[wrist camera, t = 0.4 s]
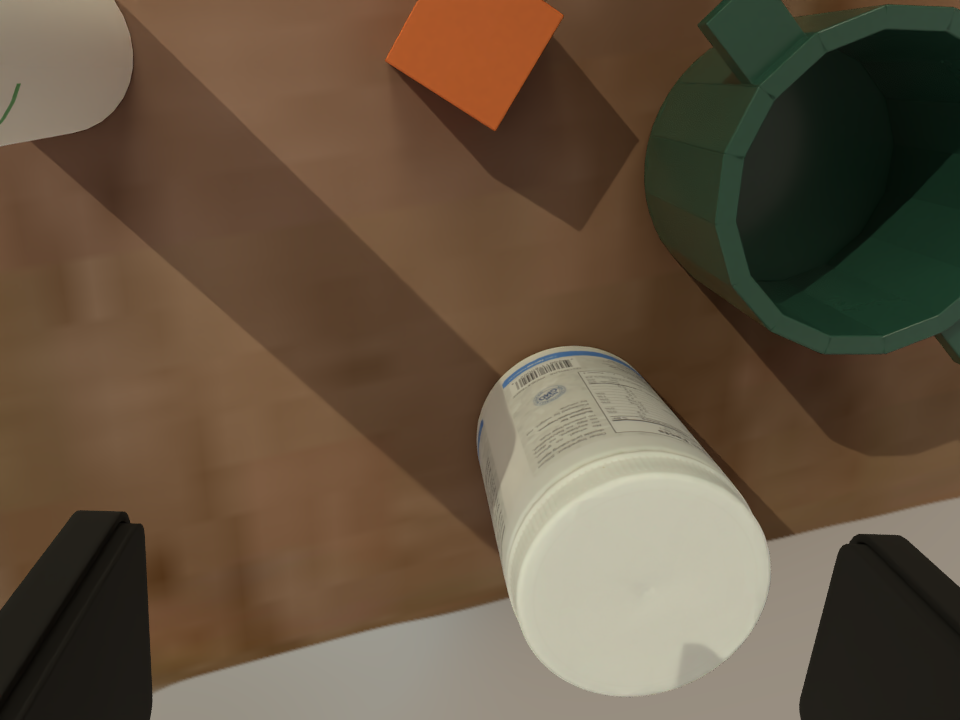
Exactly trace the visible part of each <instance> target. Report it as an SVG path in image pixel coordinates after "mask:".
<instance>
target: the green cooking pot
mask: <svg viewBox="0 0 960 720" xmlns="http://www.w3.org/2000/svg"><path fill="white" fill-rule="evenodd" d="M698 27H699V29H700V30H701V31H702V33H703V34H704V35H705V37H706V38H707V39H708V40H709V42H710V43H711V44H712V46H713V47H712V48H711V49H709V50H708V51H707V52H706V53H704V54H703V55H702V56H701V57H700V58H699V59H697V60H696V61H695V62H694V63H693V64H692V65H691V66H690V67H689V68H688V69H687V70H686V71H685V73H684V74H683V75H682V76H681V77H680V78H679V80H678V81H677V82H676V84H675V85H674V87H673V88H672V89H671V91H670V92H669V94H668V96H667V97H666V99H665V101H664V103H663V104H662V106H661V108H660V110H659V113H658V115H657V117H656V120H655V122H654V125H653V127H652V131H651V134H650V138H649V141H648V146H647V152H646V158H645V175H644V182H645V192H646V200H647V204H648V208H649V213H650V216H651V218H652V221H653V224H654V226H655V229H656V231H657V233H658V235H659V238H660V240H661V241H662V243H663V244H664V245H665V246H666V248H667V249H668V250H669V252H670V253H671V254H672V256H673V257H674V258H675V259H676V260H677V261H678V262H679V263H680V264H681V265H682V266H683V267H684V268H685V269H686V270H687V271H688V273H689V274H690V275H691V276H692V277H694V278H695V279H696V280H698V281H699V282H701V283H702V284H704V285H705V286H706V287H708V288H709V289H711V290H712V291H714V292H715V293H716V294H718V295H719V296H721V297H722V298H724V299H725V300H726V301H728V302H729V303H731V304H732V305H734V306H735V307H736V308H738V309H739V310H741V311H742V312H744V313H745V314H746V315H748V316H749V317H751V318H752V319H754V320H755V321H756V322H758V323H759V324H761V325H762V326H764V327H765V328H766V329H768V330H769V331H771V332H772V333H775V334H777V335H779V336H782V337H784V338H786V339H788V340H791V341H793V342H795V343H797V344H800V345H802V346H804V347H807V348H809V349H811V350H813V351H816V352H818V353H820V354H825V355H830V354H887V353H890V352H892V351H895V350H897V349H900V348H903V347H905V346H908V345H910V344H913V343H916V342H918V341H921V340H924V339H926V338H929V337H931V336H935V337H936V339H937V340H938V341H939V343H940V344H941V345H942V346H943V348H944V349H945V350H946V352H947V353H948V354H949V356H950V357H951V358H952V360H953V361H954V362H956V363H958V364H960V10H959V9H957V8H954V7H942V6H917V5H893V4H886V5H879V6H872V7H864V8H857V9H850V10H843V11H835V12H828V13H821V14H814V15H807V16H799V17H792V15H791V14H790V12H789V11H788V10H787V8H786V7H785V5H784V4H783V3H782V1H781V0H723V1H722V2H721V3H720V4H719V5H718V6H716V7H715V8H714V9H713V10H712V11H711V12H710V13H709V14H708V15H707V16H706V17H705V18H704V19H703V20H702V21H701V22H700V23H699V24H698Z"/></svg>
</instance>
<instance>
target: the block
mask: <svg viewBox="0 0 960 720" xmlns="http://www.w3.org/2000/svg"><path fill="white" fill-rule="evenodd" d="M563 17H564V15H563V14H562V13H560V12H559V11H557V10H556V9H554V8H553V7H551V6H550V5H549V4H547V3H546V2H544V1H543V0H418V1H417V2H416V4H415V6H414V8H413V10H412V12H411V13H410V15H409V17H408V19H407V21H406V23H405V24H404V26H403V28H402V30H401V32H400V34H399V35H398V37H397V39H396V41H395V43H394V45H393V46H392V48H391V50H390V52H389V54H388V56H387V57H386V59H385V61H386V62H387V63H388V64H390V65H392V66H393V67H395V68H396V69H398V70H399V71H401V72H403V73H404V74H406V75H407V76H409V77H410V78H412V79H413V80H415V81H417V82H418V83H420V84H421V85H423V86H424V87H426V88H428V89H429V90H431V91H432V92H434V93H435V94H437V95H439V96H440V97H442V98H443V99H445V100H446V101H448V102H449V103H451V104H453V105H454V106H456V107H457V108H459V109H460V110H462V111H464V112H465V113H467V114H468V115H470V116H471V117H473V118H475V119H476V120H478V121H479V122H481V123H482V124H484V125H486V126H487V127H489V128H490V129H492V130H493V131H496V130H497V128H498V126H499V125H500V123H501V121H502V120H503V118H504V116H505V115H506V113H507V111H508V109H509V108H510V106H511V104H512V103H513V101H514V99H515V98H516V96H517V94H518V93H519V91H520V89H521V88H522V86H523V84H524V83H525V81H526V79H527V78H528V76H529V74H530V72H531V71H532V69H533V67H534V66H535V64H536V62H537V61H538V59H539V57H540V56H541V54H542V52H543V51H544V49H545V47H546V46H547V44H548V42H549V41H550V39H551V37H552V36H553V34H554V32H555V30H556V29H557V27H558V25H559V24H560V22H561V20H562V19H563Z"/></svg>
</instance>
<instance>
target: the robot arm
mask: <svg viewBox="0 0 960 720" xmlns="http://www.w3.org/2000/svg"><path fill="white" fill-rule="evenodd" d="M799 706H800V707H799V708H800V709H799V710H800V717H801V720H960V587H959V586H958V585H956V584H955V583H954V582H953V581H952V580H951V579H950V578H949V577H948V576H947V575H945V574H944V573H943V572H942V571H941V570H940V569H939V568H938V567H937V566H935V565H934V564H933V563H932V562H931V561H930V560H929V559H928V558H926V557H925V556H924V555H923V554H922V553H921V552H920V551H919V550H918V549H917V548H915V547H914V546H913V545H912V544H911V543H910V542H909V541H908V540H907V539H905V538H903V537H902V536H899V535H877V534H858V535H856V536H854V537H853V539H852V540H851V541H850V543H849V544H845V545H843V546H842V547H841V548H840V550H839V552H838V555H837V559H836V563H835V566H834V570H833V574H832V578H831V582H830V586H829V590H828V593H827V597H826V601H825V605H824V609H823V613H822V617H821V620H820V624H819V628H818V632H817V636H816V640H815V644H814V647H813V651H812V655H811V659H810V663H809V667H808V670H807V674H806V679H805V682H804V686H803V690H802V694H801V697H800V704H799ZM151 710H152V677H151V656H150V635H149V614H148V593H147V572H146V551H145V534H144V528H143V526H142V524H132V523H130V520H129V517H128V514H127V513H126V512H116V511H83V510H80V511H76V512H75V513H74V514H73V515H72V516H71V518H70V519H69V520H68V522H67V523H66V524H65V526H64V527H63V528H62V530H61V531H60V532H59V534H58V535H57V536H56V538H55V539H54V540H53V542H52V543H51V544H50V546H49V547H48V548H47V549H46V551H45V552H44V553H43V555H42V556H41V557H40V559H39V560H38V561H37V563H36V564H35V565H34V567H33V568H32V569H31V571H30V572H29V573H28V575H27V576H26V577H25V579H24V580H23V581H22V583H21V584H20V585H19V587H18V588H17V589H16V590H15V592H14V593H13V594H12V596H11V597H10V598H9V600H8V601H7V602H6V604H5V605H4V606H3V608H2V609H1V610H0V720H150V716H151Z"/></svg>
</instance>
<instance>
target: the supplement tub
mask: <svg viewBox="0 0 960 720" xmlns="http://www.w3.org/2000/svg"><path fill="white" fill-rule="evenodd" d="M477 452H478V458H479V463H480V467H481V472H482V476H483V481H484V486H485V491H486V495H487V500H488V504H489V509H490V513H491V517H492V522H493V527H494V531H495V536H496V541H497V545H498V550H499V554H500V559H501V564H502V569H503V574H504V578H505V581H506V586H507V590H508V594H509V598H510V602H511V605H512V608H513V611H514V613H515V615H516V618H517V620H518V622H519V624H520V627H521V631H522V633H523V635H524V637H525V640H526V642H527V643H528V645H529V647H530V649H531V650H532V652H533V653H534V654H535V655H536V657H537V658H538V659H539V660H540V661H541V662H542V664H543V665H545V666H546V667H547V668H548V669H549V670H550V671H551V672H553V673H554V674H555V675H556V676H558V677H559V678H561V679H563V680H564V681H566V682H568V683H570V684H572V685H574V686H576V687H578V688H581V689H584V690H587V691H590V692H593V693H598V694H603V695H609V696H617V697H636V696H647V695H653V694H658V693H663V692H666V691H670V690H673V689H676V688H680V687H682V686H684V685H687V684H689V683H692V682H693V681H696V680H698V679H699V678H701V677H703V676H705V675H706V674H708V673H710V672H711V671H712V670H714V669H716V668H717V667H718V666H720V665H721V664H722V663H723V662H725V661H726V660H727V659H728V658H729V657H730V656H731V655H732V654H734V653H735V652H736V650H737V649H738V648H739V647H740V646H741V645H742V644H743V642H744V641H745V640H746V639H747V637H748V636H749V634H750V633H751V632H752V630H753V629H754V627H755V625H756V623H757V622H758V620H759V618H760V616H761V613H762V611H763V609H764V606H765V603H766V600H767V596H768V592H769V587H770V580H771V560H770V553H769V549H768V545H767V541H766V538H765V535H764V533H763V531H762V529H761V527H760V525H759V523H758V521H757V520H756V518H755V517H754V515H753V514H752V512H751V510H750V508H749V506H748V504H747V502H746V501H745V499H744V498H743V496H742V495H741V494H740V492H739V491H738V490H737V489H736V487H735V486H734V485H733V483H732V482H731V481H730V480H729V479H728V477H727V476H726V475H725V474H724V472H723V471H722V470H721V469H720V467H719V466H718V465H717V464H716V463H715V462H714V460H713V459H712V458H711V457H710V456H709V454H708V453H707V452H706V451H705V450H704V448H703V447H702V446H701V445H700V444H699V443H698V441H697V440H696V439H695V438H694V437H693V436H692V434H691V433H690V432H689V431H688V430H687V428H686V427H685V426H684V425H683V424H682V423H681V421H680V420H679V419H678V418H677V417H676V416H675V414H674V413H673V412H672V411H671V410H670V408H669V407H668V406H667V405H666V404H665V403H664V402H663V400H662V399H661V398H660V397H659V396H658V395H657V393H656V392H655V391H654V390H653V389H652V388H651V386H650V385H649V384H648V383H647V382H646V381H645V380H644V379H643V377H642V376H641V375H640V374H639V373H638V372H637V371H636V370H635V369H634V368H633V367H632V366H631V365H629V364H628V363H627V362H626V361H624V360H622V359H621V358H619V357H617V356H615V355H613V354H611V353H609V352H606V351H603V350H600V349H596V348H592V347H584V346H562V347H556V348H551V349H547V350H544V351H541V352H538V353H536V354H533V355H531V356H529V357H527V358H525V359H524V360H522V361H520V362H519V363H517V364H516V365H515V366H513V367H512V368H511V369H509V370H508V371H507V372H506V373H505V374H504V375H503V376H502V377H501V378H500V379H499V380H498V382H497V383H496V384H495V385H494V387H493V388H492V390H491V391H490V393H489V395H488V396H487V398H486V400H485V402H484V405H483V407H482V410H481V413H480V417H479V420H478V427H477Z"/></svg>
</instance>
